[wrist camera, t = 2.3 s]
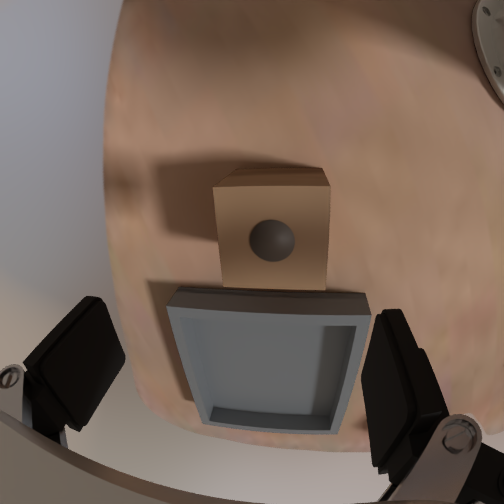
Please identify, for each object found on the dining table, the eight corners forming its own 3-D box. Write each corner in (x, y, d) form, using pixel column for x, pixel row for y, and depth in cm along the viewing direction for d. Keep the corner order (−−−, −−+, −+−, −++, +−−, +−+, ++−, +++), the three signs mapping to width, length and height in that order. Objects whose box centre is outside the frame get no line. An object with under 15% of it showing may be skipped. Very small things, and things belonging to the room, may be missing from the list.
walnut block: (236, 168, 20) (212, 187, 15) (322, 168, 19) (330, 186, 14) (242, 245, 23) (223, 287, 17) (320, 247, 22) (325, 291, 16)
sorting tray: (179, 286, 25) (166, 306, 23) (365, 293, 23) (371, 315, 20) (208, 405, 33) (202, 423, 30) (336, 414, 30) (337, 434, 27)
